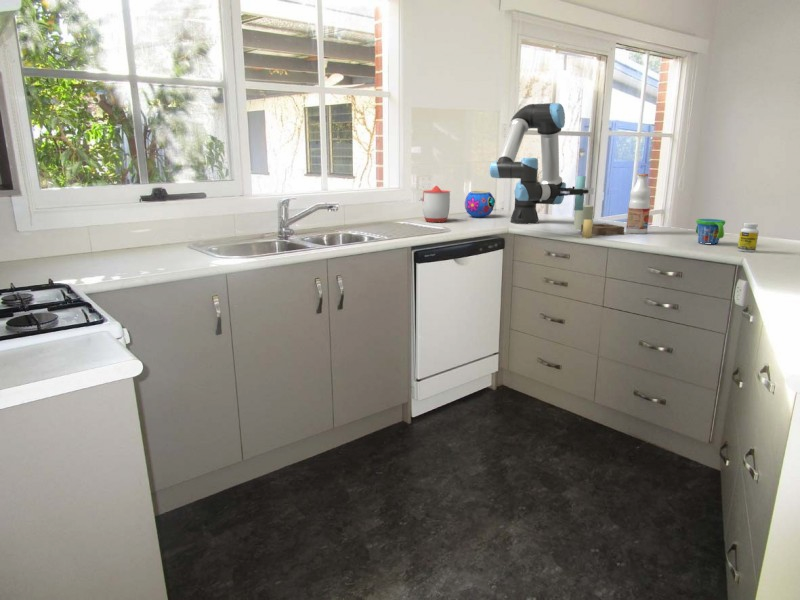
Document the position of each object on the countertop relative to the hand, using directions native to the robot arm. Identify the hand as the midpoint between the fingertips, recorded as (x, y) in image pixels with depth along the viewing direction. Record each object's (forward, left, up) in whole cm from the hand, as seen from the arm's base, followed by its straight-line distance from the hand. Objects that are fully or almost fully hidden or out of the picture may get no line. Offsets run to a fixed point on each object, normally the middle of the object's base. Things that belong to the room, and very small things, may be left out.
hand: (589, 190), depth 268 cm
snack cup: (+45, +29, -20) cm, 57 cm away
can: (-13, +7, -20) cm, 25 cm away
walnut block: (+4, +6, -20) cm, 21 cm away
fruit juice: (+9, +22, -20) cm, 31 cm away
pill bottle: (+64, +29, -20) cm, 73 cm away
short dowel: (+13, -9, -20) cm, 26 cm away
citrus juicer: (-64, -55, -20) cm, 87 cm away
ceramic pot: (-75, -22, -20) cm, 81 cm away
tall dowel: (0, -5, -9) cm, 10 cm away
